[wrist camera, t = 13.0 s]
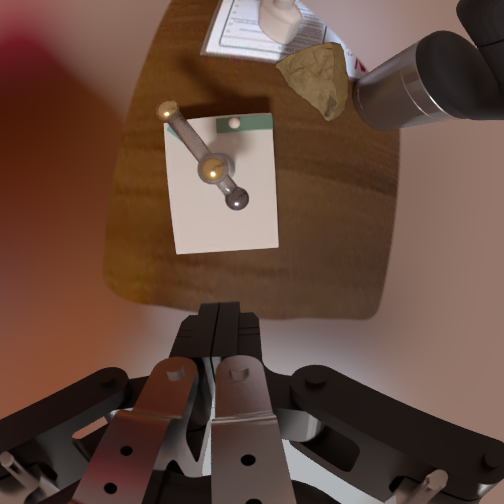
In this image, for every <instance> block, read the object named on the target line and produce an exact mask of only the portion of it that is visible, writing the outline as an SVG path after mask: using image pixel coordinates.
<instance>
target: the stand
mask: <svg viewBox="0 0 504 504" xmlns="http://www.w3.org/2000/svg"><path fill="white" fill-rule="evenodd" d="M187 121H188V123H189V124H190V125H191V126H192V128H193V129H194V130H195V131H196V133H197V134H198V135H199V136H200V138H201V139H202V140H203V141H204V143H205V144H206V145H207V147H208V148H209V149H210V150H211V152H212V153H213V154H218V155H221V156H223V157H224V158H226V159H227V161H228V162H229V165H230V172H229V175H230V176H231V177H232V179H233V180H234V181H235V183H236V184H237V185H238V187H242V188H244V189H245V190H246V191H247V192H248V194H249V203H248V205H247V206H246V207H245V208H244V209H242V210H239V211H234V210H231V209H230V208H229V207H228V206H227V205H226V203H225V196H224V195H223V194H222V192H221V191H220V190H219V189H218V187H217V186H216V185H211V184H207V183H205V182H203V181H202V180H201V179H200V177H199V175H198V172H197V167H198V162H197V160H196V159H195V158H194V156H193V155H192V154H191V153H190V151H189V150H188V149H187V147H186V146H185V145H184V144H183V142H182V141H181V140H180V139H179V137H178V136H177V135H176V133H175V132H174V131H173V130H172V128H171V127H170V126H169V125H168V123H164V134H165V150H166V164H167V176H168V187H169V197H170V206H171V215H172V223H173V231H174V239H175V246H176V253H177V254H187V253H201V252H216V251H231V250H247V249H262V248H277V247H278V225H277V202H276V183H275V165H274V148H273V132H272V129H273V121H272V115H271V113H254V114H238V115H225V116H215V117H205V118H197V119H189V120H187Z"/></svg>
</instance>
